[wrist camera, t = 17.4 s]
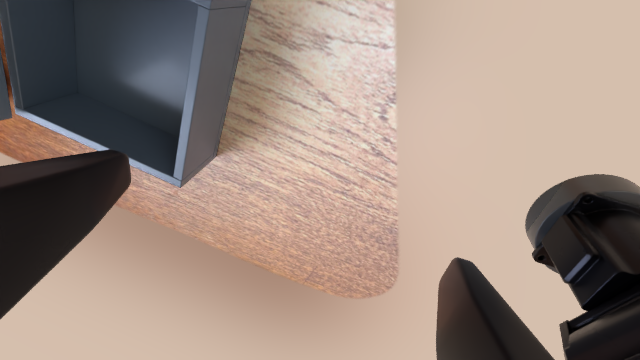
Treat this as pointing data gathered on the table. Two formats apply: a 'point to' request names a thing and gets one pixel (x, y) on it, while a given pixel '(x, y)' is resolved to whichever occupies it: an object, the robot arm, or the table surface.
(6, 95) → the lid
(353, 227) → the table surface
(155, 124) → the blue gray box
